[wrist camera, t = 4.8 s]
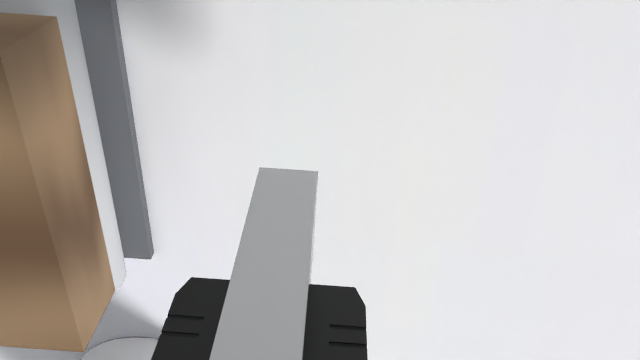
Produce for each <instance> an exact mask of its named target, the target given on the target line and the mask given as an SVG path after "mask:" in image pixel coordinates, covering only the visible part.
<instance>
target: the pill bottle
mask: <svg viewBox="0 0 640 360" xmlns="http://www.w3.org/2000/svg"><path fill="white" fill-rule="evenodd" d="M157 342H158V339H153V338H139V337H132V338H120V339H115V340H111V341H107V342H104V343H102V344H99V345H97V346H95V347H93V348H91V349H90V350H89V351H88V352H86V353H85V354H84V355H83V356H82V358H81V359H80V360H151V358H152V356H153V353H154V350H155V347H156V345H157Z"/></svg>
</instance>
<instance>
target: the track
mask: <svg viewBox="0 0 640 360" xmlns="http://www.w3.org/2000/svg"><path fill="white" fill-rule="evenodd" d="M0 13H14V14H28V15H43V16H57V20H58V24H59V29H60V34H61V38H62V43H63V48H64V52H65V57H66V62H67V66H68V71H69V76H70V80H71V85H72V90H73V95H74V99H75V104H76V109H77V113H78V118H79V123H80V127H81V132H82V137H83V141H84V146H85V151H86V155H87V160H88V165H89V169H90V174H91V179H92V183H93V188H94V193H95V197H96V202H97V207H98V211H99V216H100V221H101V226H102V230H103V235H104V240H105V244H106V249H107V254H108V258H109V263H110V268H111V272H112V277H113V282H114V286H115V292H116V291H117V290H118V289H119V288H120V287H121V286H122V284H123V283H124V281H125V278H126V266H125V261H124V258H138V259H151V258H152V256H153V253H154V251H153V244H152V238H151V231H150V224H149V218H148V211H147V204H146V198H145V191H144V185H143V178H142V171H141V165H140V158H139V152H138V145H137V138H136V132H135V125H134V119H133V112H132V105H131V99H130V92H129V85H128V79H127V72H126V66H125V59H124V52H123V46H122V39H121V33H120V26H119V19H118V13H117V6H116V0H0ZM115 292H114V293H115Z"/></svg>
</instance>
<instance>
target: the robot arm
mask: <svg viewBox="0 0 640 360" xmlns="http://www.w3.org/2000/svg"><path fill="white" fill-rule="evenodd" d="M317 181H318V171H304V170H290V169H275V168H261V167H260V168H259V172H258V175H257V179H256V183H255V187H254V191H253V195H252V198H251V202H250V206H249V210H248V214H247V217H246V221H245V225H244V229H243V233H242V237H241V240H240V244H239V248H238V252H237V256H236V260H235V263H234V267H233V271H232V275H231V279H230V280H222V279H208V278H194V277H191V278H190V279H189V280H188V281H187V282H186V284H185V285H184V286H183V287H182V288H181V289H180V290H179V291H178V292H177V293H176V294H175V296H174V299H173V302H172V304H171V307H170V310H169V312H168V318H166V321H165V323H164V326H163V329H162V334H161V335H160V337H159V339H158V342H157V345H156V347H155V350H154V353H153V356H152V358H151V360H367V336H366V308H365V304H364V303H363V301H362V299H361V297H360V295H359V294H358V292H357V290H356V288H355V287H341V286H327V285H313V284H311V272H312V260H313V246H314V229H315V213H316V197H317Z"/></svg>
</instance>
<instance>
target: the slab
mask: <svg viewBox="0 0 640 360" xmlns="http://www.w3.org/2000/svg"><path fill="white" fill-rule="evenodd" d="M114 292H115V286H114V282H113V277H112V272H111V268H110V263H109V258H108V254H107V249H106V244H105V240H104V235H103V230H102V226H101V221H100V216H99V211H98V207H97V202H96V197H95V193H94V188H93V183H92V179H91V174H90V169H89V165H88V160H87V155H86V151H85V146H84V141H83V137H82V132H81V127H80V123H79V118H78V113H77V109H76V104H75V99H74V95H73V90H72V85H71V80H70V76H69V71H68V66H67V62H66V57H65V52H64V48H63V43H62V38H61V34H60V29H59V24H58V20H57V16H43V15H28V14H14V13H0V346H7V347H20V348H34V349H48V350H61V351H75V352H84V351H85V349H86V347H87V345H88V343H89V341H90V339H91V337H92V335H93V333H94V331H95V329H96V327H97V325H98V324H99V322H100V320H101V318H102V316H103V314H104V312H105V310H106V308H107V306H108V304H109V302H110V300H111V298H112V296H113V294H114Z"/></svg>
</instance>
